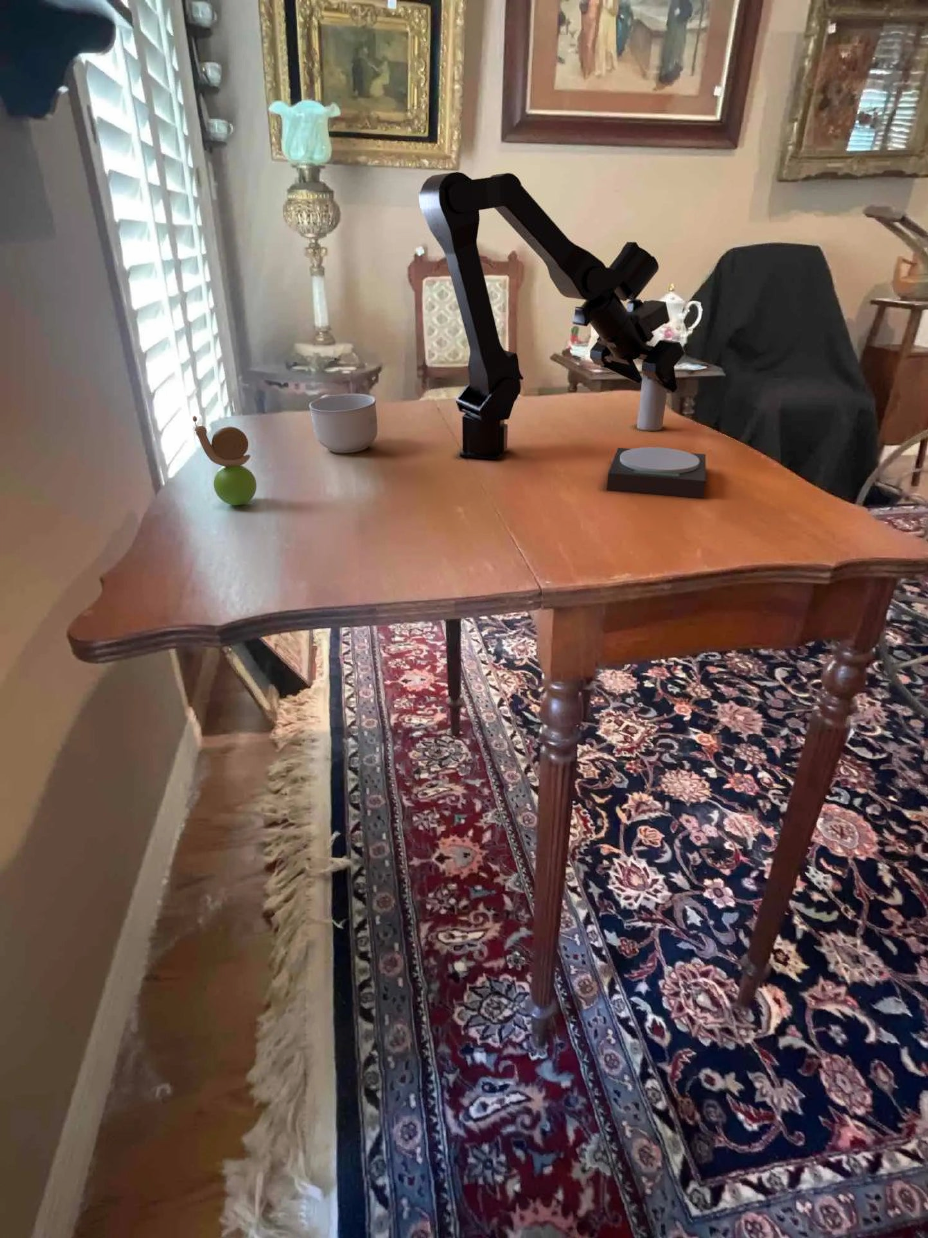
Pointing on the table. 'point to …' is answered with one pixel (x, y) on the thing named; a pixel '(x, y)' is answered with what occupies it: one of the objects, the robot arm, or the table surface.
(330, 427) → the teacup
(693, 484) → the scale
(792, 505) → the table surface
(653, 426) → the grey cylindrical piece
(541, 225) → the robot arm
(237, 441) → the snail figurine
